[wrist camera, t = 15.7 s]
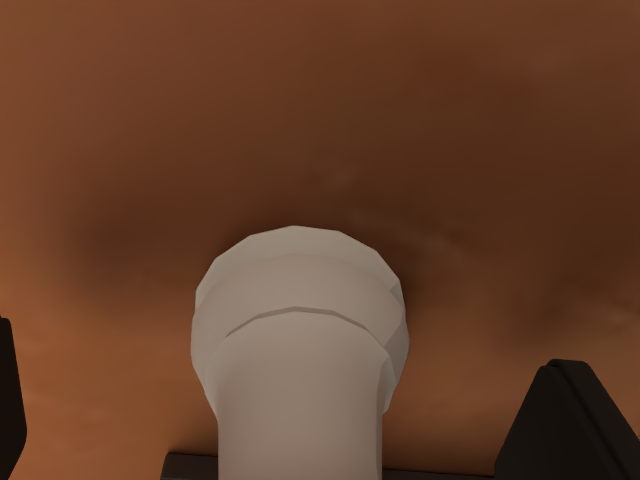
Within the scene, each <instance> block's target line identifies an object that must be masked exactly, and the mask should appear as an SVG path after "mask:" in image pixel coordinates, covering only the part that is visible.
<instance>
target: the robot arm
mask: <svg viewBox="0 0 640 480" xmlns="http://www.w3.org/2000/svg"><path fill="white" fill-rule="evenodd" d="M26 437H27V426H26V419H25V413H24V406H23V400H22V393H21V387H20V380H19V374H18V367H17V361H16V354H15V348H14V341H13V335H12V328H11V323H10V321H9V319H7V318H1V316H0V480H8V479H9V477H10V475H11V473H12V471H13V469H14V467H15V465H16V463H17V461H18V459H19V457H20V455H21V453H22V451H23V448H24V445H25V442H26ZM495 478H496V480H640V441H639V439H638V438H637V436H636V435H635V433H634V432H633V430H632V429H631V427H630V426H629V424H628V423H627V421H626V420H625V418H624V417H623V415H622V414H621V412H620V411H619V409H618V408H617V406H616V405H615V403H614V402H613V400H612V399H611V397H610V396H609V394H608V393H607V391H606V390H605V388H604V387H603V385H602V384H601V382H600V381H599V379H598V378H597V376H596V375H595V373H594V372H593V370H592V369H591V367H590V366H589V365H588V364H587V363H585V362H583V361H573V360H562V359H552V360H550V361H549V362H548V363H547V365H546V366H542V367H540V368H539V370H538V371H537V373H536V375H535V377H534V380H533V382H532V384H531V386H530V388H529V390H528V392H527V395H526V397H525V399H524V401H523V403H522V405H521V407H520V410H519V412H518V414H517V416H516V418H515V420H514V422H513V425H512V427H511V429H510V431H509V433H508V435H507V437H506V440H505V442H504V444H503V446H502V448H501V450H500V453H499V455H498V457H497V459H496V462H495Z"/></svg>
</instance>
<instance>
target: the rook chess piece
mask: <svg viewBox="0 0 640 480" xmlns="http://www.w3.org/2000/svg"><path fill="white" fill-rule="evenodd" d="M405 315H406V310H405V305H404V300H403V295H402V290H401V285H400V280H399V279H398V277H397V276H396V275H395V274H394V272H393V271H392V270H391V269H390V267H389V266H388V265H387V264H386V262H385V261H384V260H383V259H382V257H381V256H380V255H379V254H378V252H377V251H376V250H374V249H372V248H370V247H368V246H366V245H364V244H362V243H360V242H359V241H357V240H355V239H353V238H351V237H349V236H347V235H345V234H343V233H341V232H340V231H334V230H326V229H318V228H310V227H302V226H289V227H285V228H280V229H276V230H272V231H267V232H263V233H258V234H254V235H250V236H248V237H247V238H245V239H244V240H242V241H241V242H239V243H238V244H236V245H235V246H233V247H232V248H230V249H229V250H227V251H226V252H224V253H223V254H221V255H220V256H218V257H217V258H215V260H214V261H213V263H212V265H211V266H210V268H209V270H208V271H207V273H206V275H205V276H204V278H203V280H202V281H201V283H200V284H199V286H198V288H197V289H196V301H195V314H194V316H193V318H192V333H191V351H190V352H191V358H192V364H193V367H194V369H195V371H196V373H197V375H198V377H199V380H200V382H201V384H202V386H203V388H204V393H205V395H206V397H207V399H208V402H209V404H210V406H211V408H212V410H213V412H214V414H215V416H216V418H217V422H218V473H219V480H382V416H383V414H384V413H385V412H386V411H387V410H388V408H389V405H390V401H391V398H392V395H393V392H394V389H395V388H396V387H397V386H398V384H399V381H400V377H401V374H402V371H403V368H404V365H405V362H406V358H407V355H408V349H409V343H410V339H409V334H408V329H407V324H406V319H405Z"/></svg>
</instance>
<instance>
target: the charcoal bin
mask: <svg viewBox="0 0 640 480" xmlns="http://www.w3.org/2000/svg"><path fill="white" fill-rule="evenodd" d="M160 480H219V473H218V457H210V456H197V455H183V454H170V453H169V454H167V455H166V457H165V461H164V465H163V469H162V473H161V477H160ZM382 480H496V478H491V477H478V476H464V475H451V474H438V473H424V472H411V471H397V470H384V469H382Z"/></svg>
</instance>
